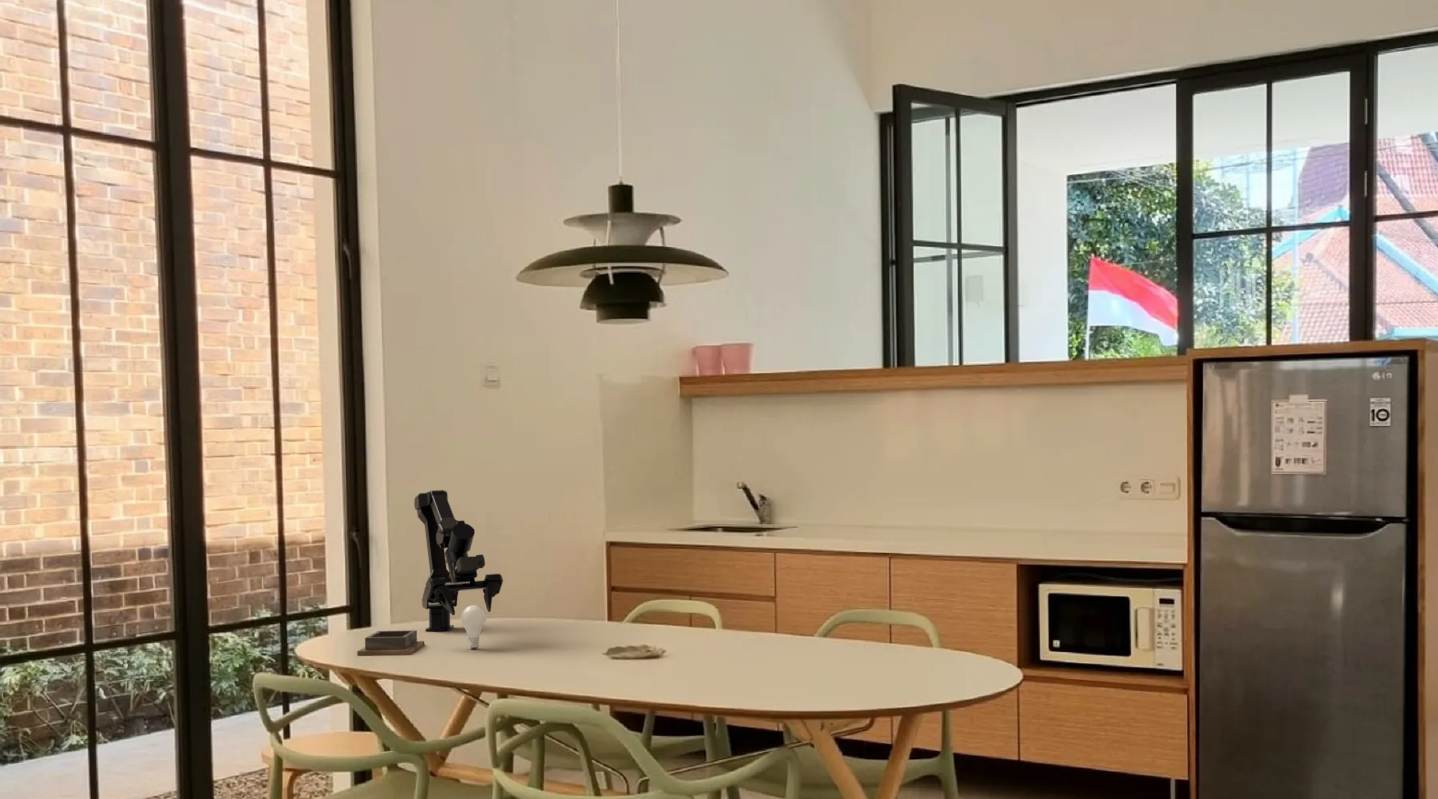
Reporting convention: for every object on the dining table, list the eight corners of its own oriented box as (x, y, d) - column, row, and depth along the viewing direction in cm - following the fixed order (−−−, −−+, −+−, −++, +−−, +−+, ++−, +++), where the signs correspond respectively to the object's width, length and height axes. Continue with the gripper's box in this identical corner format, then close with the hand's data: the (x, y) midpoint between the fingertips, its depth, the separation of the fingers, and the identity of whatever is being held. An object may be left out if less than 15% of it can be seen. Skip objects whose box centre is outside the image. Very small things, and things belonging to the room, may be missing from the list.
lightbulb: (483, 651, 296) (483, 606, 296) (458, 651, 296) (457, 607, 297) (489, 646, 303) (488, 602, 303) (464, 646, 303) (463, 603, 303)
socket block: (374, 645, 307) (374, 630, 307) (424, 644, 306) (424, 629, 307) (357, 655, 294) (357, 639, 294) (409, 654, 294) (409, 638, 294)
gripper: (428, 547, 302) (440, 595, 292) (500, 542, 310) (514, 589, 300) (421, 575, 308) (433, 623, 298) (491, 570, 317) (505, 616, 307)
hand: (472, 612), depth 301 cm, fingers open, 9 cm apart
